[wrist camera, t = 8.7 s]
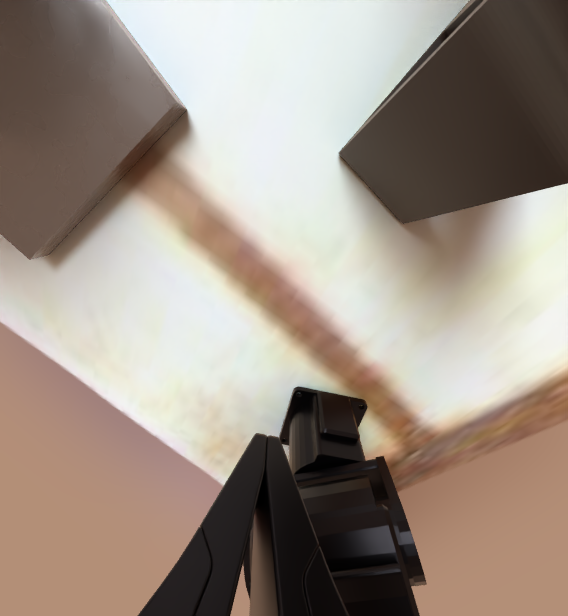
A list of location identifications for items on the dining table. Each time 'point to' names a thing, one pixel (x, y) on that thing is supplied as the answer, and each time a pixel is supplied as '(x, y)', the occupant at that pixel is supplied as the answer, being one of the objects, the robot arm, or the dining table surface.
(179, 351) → the dining table surface
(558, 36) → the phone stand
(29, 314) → the dining table surface
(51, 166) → the vise base
